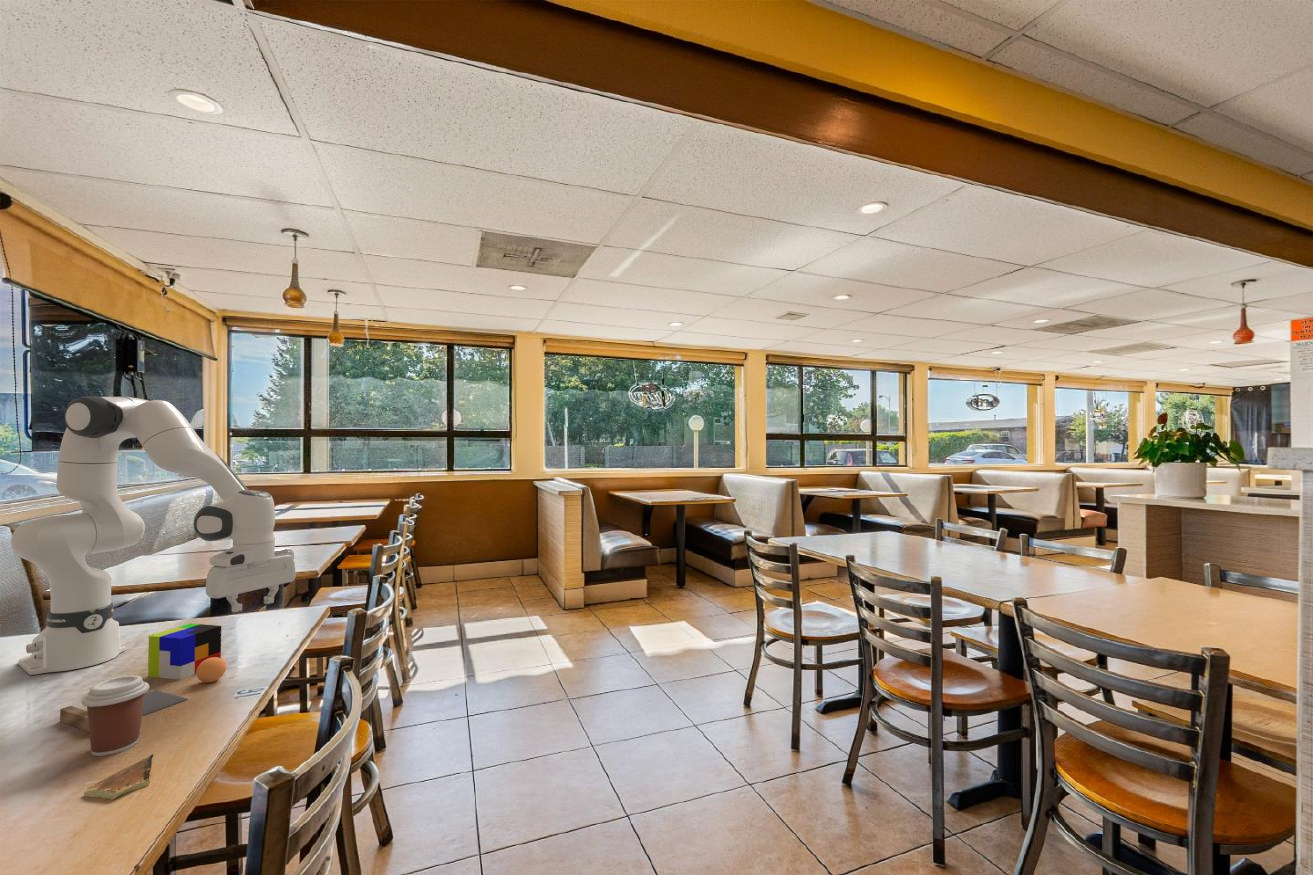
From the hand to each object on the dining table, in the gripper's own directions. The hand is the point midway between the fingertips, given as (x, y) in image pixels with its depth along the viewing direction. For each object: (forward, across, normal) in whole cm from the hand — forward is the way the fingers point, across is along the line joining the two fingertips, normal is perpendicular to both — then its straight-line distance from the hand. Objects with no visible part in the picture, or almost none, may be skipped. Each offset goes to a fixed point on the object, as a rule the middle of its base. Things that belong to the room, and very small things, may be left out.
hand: (253, 607), depth 142 cm
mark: (+15, +24, 0) cm, 28 cm away
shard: (+16, +40, +31) cm, 53 cm away
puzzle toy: (+16, +8, -14) cm, 22 cm away
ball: (+12, +10, 0) cm, 16 cm away
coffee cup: (+15, +34, +16) cm, 41 cm away
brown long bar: (+15, +32, 0) cm, 36 cm away
